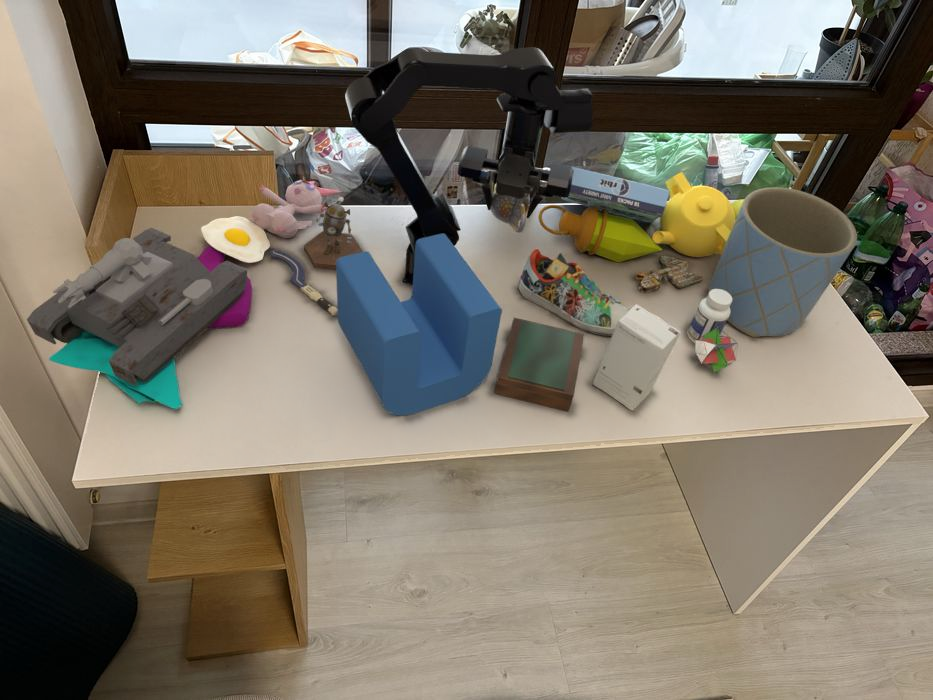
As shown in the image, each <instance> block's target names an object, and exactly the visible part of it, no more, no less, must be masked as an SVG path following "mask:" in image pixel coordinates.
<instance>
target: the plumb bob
mask: <svg viewBox="0 0 933 700" xmlns="http://www.w3.org/2000/svg"><path fill="white" fill-rule="evenodd" d="M549 209H555V210H560V211H562V212H563V213H561V216H560V218H559V220H558V226H557V227H558V228H557V230H554V229H551V228H549V227H548V226H547V225H546V223H544V220H543V214H544V212H545V211H547V210H549ZM538 222H539V224H540V226H541V227H542V228H543V229H544V230H545V231H546V232H548V233H550V234H553V235H557V236H562V235H564V236H566V237H567V236H569V237H570V238H574V245H575V247H576V249H577V250H578V251H579V252H580V253H584V252H588V254H589V255H590V256H593V255H598V256H599V257H603V258H605V259H607V260H610V261H613V262H614V263H615V262H616V263H621V262H625V261H628V260H633V259H635V258H639V257H643V256H647V255H650V254H653V253H654V254H655V253H657V252H661V251H663V249H662V247H660V246H659V244H658V243H655V242H654V241H653V239H652V237H651V236H650V235H648V233H647V232H646V231H645V230H644V229H643V228H642V226H640V225H639V224H638V223H637V222H636V221H635V220H634V218H632V217H627V216H622V215H621V216H620V215H615V214H610V213H608V211H607V210H606V209H598V208H597V207H596V206H593V207H587V208H585V209H584V210H583V212H582V214H579V213H575V212H572V211H569V210H568V209H566V208H564V207H563V206H561V205H557V204H549V205H546V206H544V207H542V208H541V209H540V210H539V213H538Z"/></svg>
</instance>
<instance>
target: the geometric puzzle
mask: <svg viewBox="0 0 933 700" xmlns="http://www.w3.org/2000/svg"><path fill="white" fill-rule="evenodd" d="M721 331H722V332H723V333H724V335H726V336H724V335H723V336H722V335H721V334H719V331H718V327H717V328H715V329H714V330H712V331H710V332H709V333H707V334H705V335H703V337H705V339H702V340H697V339H696V340H695V343H694V356H693V358H695V359H696V360H697V361H699V363H700V364H701V365H704V364H710V365H711V368H712V370H711V369H710V368H708V367H707V366H706V365H704V366H705V368H706V369H708V370H709V371H711V372H713V374H715V373H716V372H719V371H720V370H723V369H725V368H726V367H729V366H730V365H731V364H732V363H735V362H736V361H737V357H736V356H737V355H738V354H737V353H736V355H735V350H737V347H739V342H738V341H736V340H735V339H733V337H731V336H729V334H727V333H726V332H724V331H723V330H721ZM722 332H721V333H722ZM700 338H701V337H700ZM698 339H699V338H698ZM731 340H733V341H734V342H732V341H731ZM735 345H736V347H735V348H734V347H733V346H735ZM728 362H730V363H728Z"/></svg>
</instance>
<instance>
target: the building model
mask: <svg viewBox="0 0 933 700" xmlns="http://www.w3.org/2000/svg"><path fill="white" fill-rule="evenodd" d="M659 263H660V264H662V266H661V267H662V269H659V270H657V271H656V270H655V269H652V270H650V271H649V273H647V272H646V271H640V272H637V273H636V274H635V276H634V279H635V280H638V281H641V282H640V283H639V287H638V290H639V291H640V292H641V293H644V294H646V293H651V292H654V291H658V290H659V289H660V286H661V285H662V282H665V281H670V282H671V283H672V284H673V285H675V286H676V287H677V288H679V289H683V288H684V287H688V286H689V285H692V284H696V283H699V282H702V281H703V279H704V276H702V275H701V274H696V273H695V272H691V271H690V272H687V270H688V267H689V264H690V261H688V260H683V259H679V258H677V257H675V256H670V255H669V256H667V255H661V256H659ZM661 281H662V282H661Z"/></svg>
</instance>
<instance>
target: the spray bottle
mask: <svg viewBox="0 0 933 700" xmlns="http://www.w3.org/2000/svg"><path fill="white" fill-rule="evenodd" d="M201 235H202V239H203V240H205V238H204V236H203V234H202V233H201ZM196 258H197V259H198V260H199V261H200V262H201V263H202V264H203V265H204V266H205V267H206V269H207V270H208V271H209V272H211V271H212V270H214V269H215V268H216V267H217V266H218V265H220V264H221V263H223V262H225V260H226V254H225V253H223V252H221V251H219V250H217V249H215V248H214V247H212V246H211V245H210V244H209V245H207V246H206V247H205V248H204V249H203V250H202V252H201V253H200V254H199V255H198V257H196ZM252 293H253V287H252V281H251V279H250V278H249V276H248V275H247V285H246V289H245V290H244V291H243V293H242V296H241V298H240V299H239V300H238V301H237V302H236V303H235V304H234V305H233V306H231V307H230V308H229V309H228V310H227V311H226V312H225V313H224V314H223V315H221V316H220V317H219V318H218V319H217V320H216V321H215V322H214V323H212V324H211V325H210V326H209V327H208V328H207V329H225V328H226V329H227V328H238V327H241V326H243V325H244V324H245V323H246V322H247V320H248V318H249V316H250V312H251V308H252V295H253V294H252ZM207 329H206V330H207Z"/></svg>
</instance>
